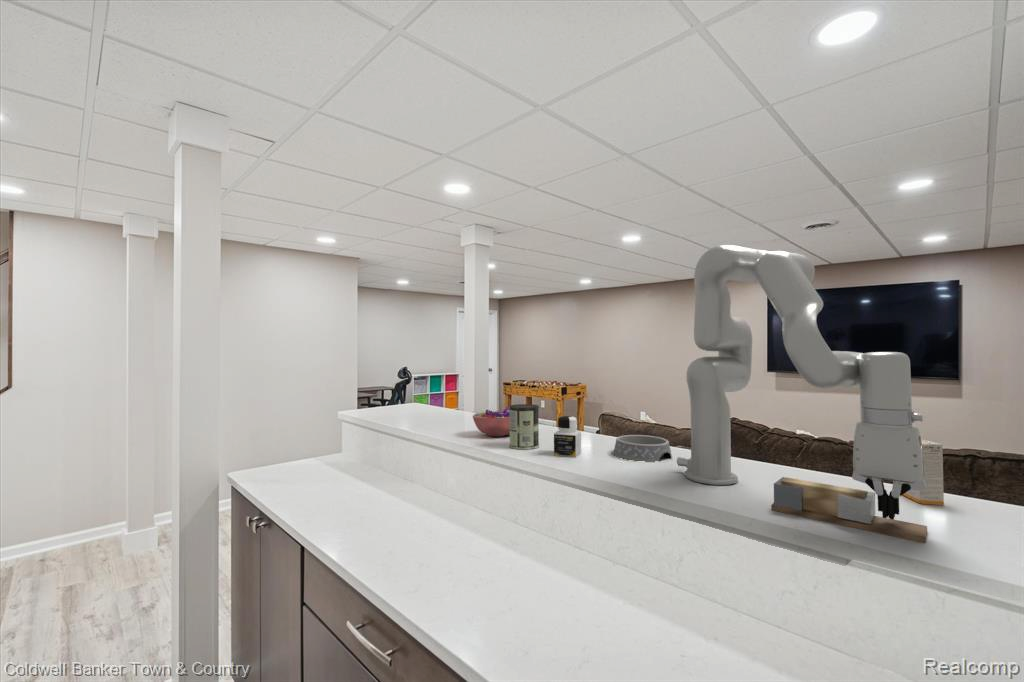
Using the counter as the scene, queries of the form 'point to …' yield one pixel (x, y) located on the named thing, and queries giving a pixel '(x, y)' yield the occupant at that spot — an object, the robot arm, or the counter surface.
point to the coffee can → (524, 426)
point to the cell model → (493, 422)
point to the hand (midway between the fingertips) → (888, 516)
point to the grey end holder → (788, 496)
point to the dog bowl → (641, 448)
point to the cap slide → (857, 507)
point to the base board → (877, 524)
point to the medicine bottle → (567, 437)
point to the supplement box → (930, 476)
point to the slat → (822, 495)
